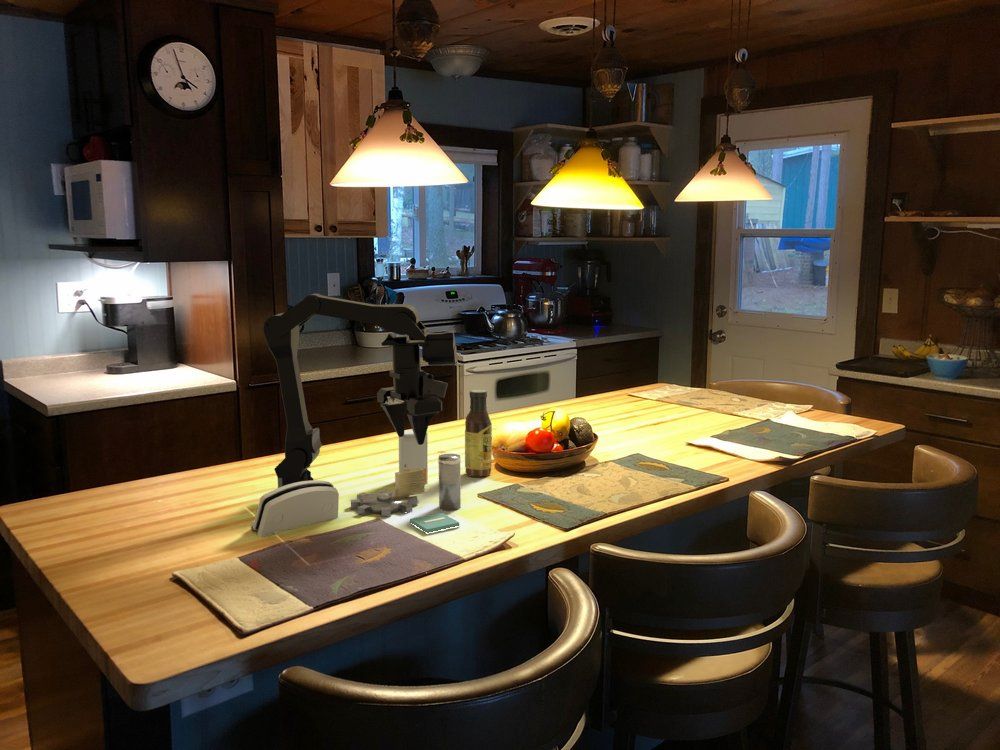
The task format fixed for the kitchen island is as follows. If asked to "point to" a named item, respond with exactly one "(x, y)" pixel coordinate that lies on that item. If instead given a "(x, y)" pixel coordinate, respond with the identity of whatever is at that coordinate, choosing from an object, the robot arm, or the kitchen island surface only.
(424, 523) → the pad
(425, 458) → the skincare box
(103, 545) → the kitchen island surface
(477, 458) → the sauce bottle
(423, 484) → the sprocket
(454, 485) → the roller
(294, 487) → the white rounded block
